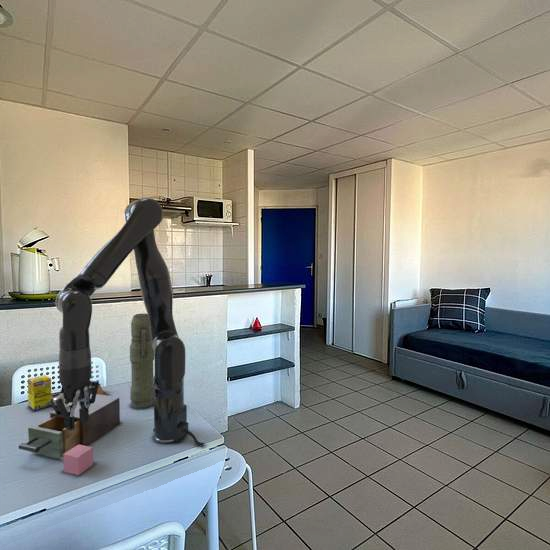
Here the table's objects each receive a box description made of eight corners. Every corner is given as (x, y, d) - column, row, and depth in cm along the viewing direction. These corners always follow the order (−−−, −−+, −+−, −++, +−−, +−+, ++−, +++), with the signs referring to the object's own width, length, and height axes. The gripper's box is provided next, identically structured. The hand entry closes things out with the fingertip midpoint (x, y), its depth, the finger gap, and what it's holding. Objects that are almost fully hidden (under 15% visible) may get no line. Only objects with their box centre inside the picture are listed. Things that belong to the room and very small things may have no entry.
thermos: (150, 395, 143) (149, 311, 140) (159, 406, 133) (158, 316, 131) (127, 400, 138) (125, 313, 135) (134, 412, 128) (133, 318, 126)
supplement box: (34, 411, 128) (33, 382, 127) (28, 407, 132) (27, 378, 131) (52, 406, 133) (51, 378, 132) (46, 401, 136) (45, 374, 135)
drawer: (43, 469, 94) (42, 443, 93) (11, 461, 97) (10, 436, 96) (99, 433, 112) (98, 411, 112) (71, 427, 115) (70, 406, 115)
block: (93, 464, 97) (92, 447, 97) (78, 475, 93) (77, 457, 92) (78, 461, 99) (78, 444, 98) (63, 471, 94) (63, 454, 94)
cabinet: (83, 447, 105) (82, 418, 105) (51, 440, 109) (49, 412, 108) (120, 423, 120) (119, 397, 120) (90, 417, 124) (89, 392, 123)
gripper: (63, 373, 86) (65, 441, 87) (106, 357, 99) (108, 415, 100) (40, 370, 88) (42, 436, 89) (85, 354, 101) (87, 411, 103)
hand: (77, 425), depth 95 cm, fingers open, 4 cm apart
